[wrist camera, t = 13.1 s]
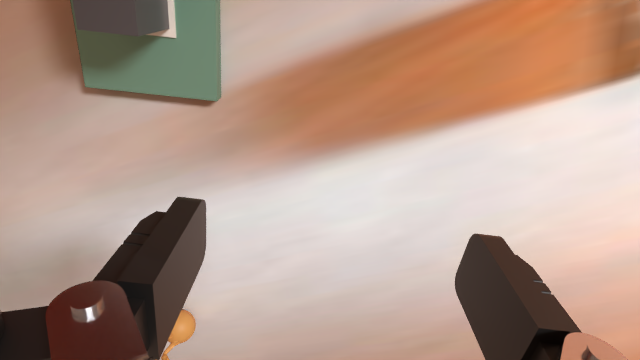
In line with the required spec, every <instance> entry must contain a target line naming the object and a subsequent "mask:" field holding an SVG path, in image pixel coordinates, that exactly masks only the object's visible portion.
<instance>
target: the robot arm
mask: <svg viewBox="0 0 640 360" xmlns="http://www.w3.org/2000/svg"><path fill="white" fill-rule="evenodd" d="M205 250H206V203H205V200H201V199H193V198H185V197H177V198H176V199H175V201H174V202H173V203H172V205H171V206H170V208H169V209H168V210H167V212H158V211H156V212H154V213H153V214H151V215H149V216H148V217H146V218H144V219H143V220H141V221H140V222H139V223H138V225H137V226H136V227H135V228H134V230H133V231H132V232H131V235H129V236H128V237H127V238H126V240H125V241H124V243H123V245H121V246H120V247H119V248H118V250H117V251H116V252H115V253H114V255H113V256H112V257H111V258H110V260H109V261H108V262H107V263H106V265H105V266H104V267H103V268H102V270H101V271H100V272H99V273H98V275H97V276H96V277H95V278H94V280H93V281H89V282H85V283H81V284H78V285H75V286H73V287H71V288H69V289H67V290H65V291H63V292H62V293H60V294H59V295H58V296H57V297H55V298H54V299H53V300H52V302H51V303H50V304H49V306H44V307H38V308H31V309H23V310H15V311H8V312H0V360H155V359H156V360H159V359H160V357H161V354H162V352H163V350H164V348H165V346H166V343H167V341H168V339H169V337H170V334H171V332H172V330H173V328H174V325H175V323H176V321H177V319H178V316H179V314H180V312H181V310H182V308H183V305H184V303H185V301H186V299H187V296H188V294H189V292H190V290H191V287H192V285H193V283H194V281H195V279H196V276H197V274H198V272H199V270H200V267H201V265H202V262H203V259H204V255H205ZM455 289H456V293H457V296H458V298H459V300H460V303H461V305H462V307H463V309H464V312H465V314H466V316H467V319H468V321H469V323H470V325H471V328H472V330H473V332H474V334H475V337H476V339H477V341H478V344H479V346H480V348H481V350H482V353H483V355H484V357H485V359H486V360H628V359H627V358H626V357H625V356H624V355H623V354H622V353H621V352H619V351H618V350H617V349H616V348H614V347H613V346H611V345H610V344H608V343H607V342H605V341H603V340H601V339H599V338H597V337H595V336H592V335H589V334H585V333H582V332H581V331H580V329H579V328H578V327H577V325H576V324H575V323H574V322H573V320H572V319H571V318H570V316H569V315H568V314H567V312H566V311H565V310H564V308H563V307H562V306H561V304H560V303H559V302H558V300H557V299H556V298H555V296H554V295H551V291H550V290H549V288H548V287H547V286H546V285H545V283H543V281H542V279H541V278H540V277H539V275H538V274H537V273H536V271H535V270H534V269H533V267H531V266H530V265H529V264H528V263H526V262H525V261H524V260H523V259H521V258H520V257H519V256H518V255H515V254H514V253H513V252H512V250H511V249H510V248H509V246H508V245H507V243H506V242H505V241H504V239H503V238H502V237H499V236H491V235H483V234H473V235H472V236H471V237H470V239H469V242H468V244H467V247H466V249H465V252H464V255H463V257H462V260H461V262H460V265H459V267H458V270H457V273H456V277H455Z"/></svg>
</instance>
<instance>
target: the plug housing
mask: <svg viewBox="0 0 640 360" xmlns="http://www.w3.org/2000/svg"><path fill="white" fill-rule="evenodd" d="M72 1H73V7H74V13H75V19H76V24H77V30H86V31H94V32H103V33H112V34H121V35H129V36H142V35H146V34H151V33H155V32H159V31H163V30H167V29H169V15H168V1H167V0H72Z"/></svg>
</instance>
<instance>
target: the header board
mask: <svg viewBox="0 0 640 360" xmlns="http://www.w3.org/2000/svg"><path fill="white" fill-rule="evenodd" d="M167 1H168V15H169V29H167V30H163V31H159V32H155V33H151V34H146V35H142V36H129V35H121V34H112V33H103V32H94V31H86V30H77V24H76V19H75V13H74V7H73V1H72V0H70V2H71V8H72V14H73V19H74V25H75V31H76V37H77V42H78V48H79V54H80V60H81V65H82V71H83V77H84V83H85V87H90V88H99V89H108V90H118V91H127V92H136V93H145V94H155V95H164V96H173V97H183V98H192V99H201V100H210V101H218V100H219V99H220V98H221V50H220V0H167Z"/></svg>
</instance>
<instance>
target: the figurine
mask: <svg viewBox="0 0 640 360" xmlns="http://www.w3.org/2000/svg"><path fill="white" fill-rule="evenodd" d="M195 326H196V323H195V319H194V317H193V315H192V314H191V313H190V312H188V311H185V310H181V312H180V314H179V316H178V319H177V321H176V323H175V325H174V328H173V330H172V332H171V334H170V337H169V339H168V341H169V342H171V344H170V345H169V346H168V348H167V349H166V350H165V351H164V353H163V355H162V357H161V359H162V360H169V359H168V356H167V353H168V352H169V351H170V350H171V349H172V348H173V347H174V346H176V345H178V344H179V343H183V342H185V341H187V340H188V339H189V338H190V337H191V336H192V335H193V333H194V331H195ZM155 360H156V359H155Z"/></svg>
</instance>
